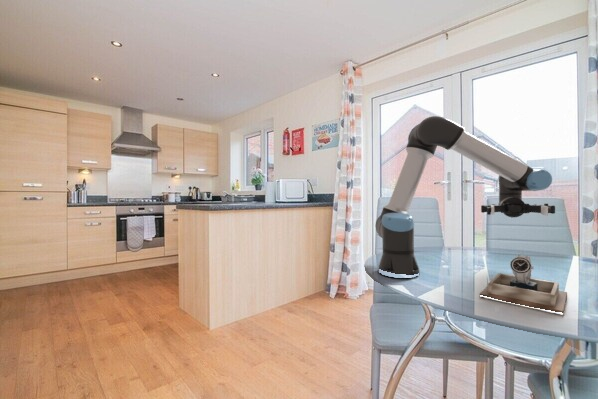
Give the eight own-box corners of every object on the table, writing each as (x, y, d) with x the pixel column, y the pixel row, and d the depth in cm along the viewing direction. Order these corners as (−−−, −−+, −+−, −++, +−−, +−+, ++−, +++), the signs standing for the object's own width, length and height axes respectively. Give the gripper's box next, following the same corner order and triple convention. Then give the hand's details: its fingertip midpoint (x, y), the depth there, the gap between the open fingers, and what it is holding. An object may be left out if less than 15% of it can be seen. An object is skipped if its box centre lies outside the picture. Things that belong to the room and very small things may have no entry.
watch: (508, 293, 82) (507, 256, 81) (515, 287, 87) (515, 252, 86) (532, 298, 77) (531, 259, 77) (539, 291, 82) (538, 255, 82)
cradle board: (479, 297, 82) (479, 283, 82) (494, 282, 95) (493, 270, 95) (563, 315, 69) (563, 299, 69) (567, 296, 82) (567, 282, 82)
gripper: (555, 217, 101) (571, 223, 83) (474, 216, 114) (473, 221, 97) (555, 196, 100) (571, 198, 83) (474, 197, 114) (473, 199, 96)
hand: (518, 210), depth 90 cm, fingers open, 13 cm apart
